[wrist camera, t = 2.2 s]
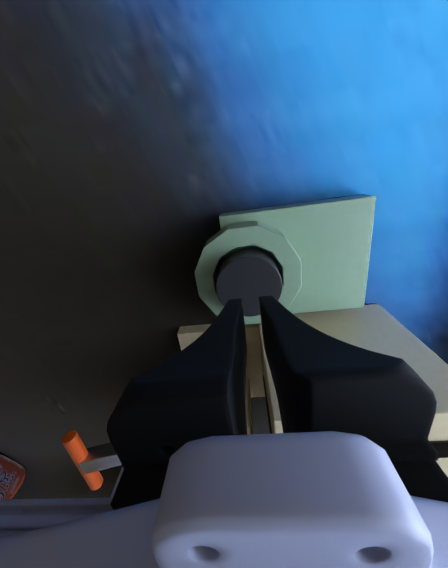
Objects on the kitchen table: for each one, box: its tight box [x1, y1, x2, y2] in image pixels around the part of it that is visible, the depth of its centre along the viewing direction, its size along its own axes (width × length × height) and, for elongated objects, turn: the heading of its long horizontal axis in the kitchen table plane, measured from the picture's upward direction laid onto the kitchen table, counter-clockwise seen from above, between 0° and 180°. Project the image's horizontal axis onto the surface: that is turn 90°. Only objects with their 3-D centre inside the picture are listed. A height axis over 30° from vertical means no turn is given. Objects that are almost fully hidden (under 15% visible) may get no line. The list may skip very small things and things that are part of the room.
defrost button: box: [216, 249, 282, 317], centre depth 15 cm, size 4×4×2 cm
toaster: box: [258, 304, 448, 477], centre depth 17 cm, size 10×9×10 cm
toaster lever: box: [62, 430, 122, 491], centre depth 16 cm, size 11×5×2 cm, turn 97°
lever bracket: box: [177, 323, 265, 435], centre depth 19 cm, size 7×8×9 cm
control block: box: [195, 194, 376, 324], centre depth 17 cm, size 12×8×4 cm
